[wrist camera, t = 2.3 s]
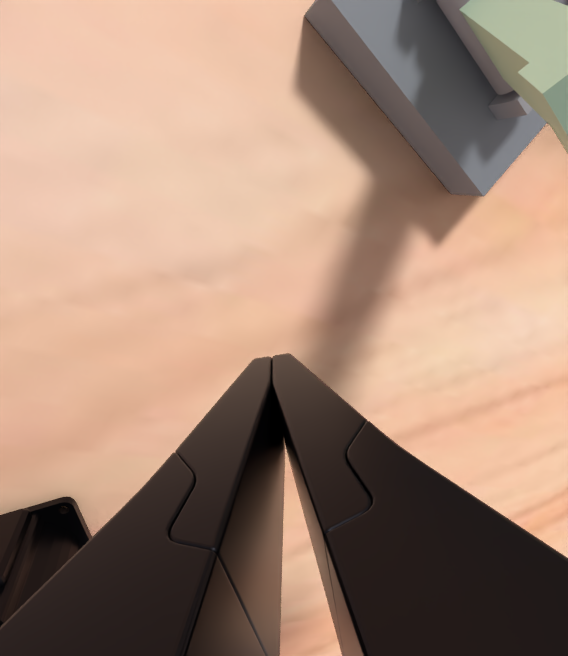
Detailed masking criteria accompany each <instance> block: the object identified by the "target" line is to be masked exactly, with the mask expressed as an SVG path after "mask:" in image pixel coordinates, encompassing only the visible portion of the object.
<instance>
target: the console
mask: <svg viewBox="0 0 568 656" xmlns="http://www.w3.org/2000/svg"><path fill="white" fill-rule="evenodd" d="M553 1H556V2H559V3H562V4H564V5H567V6H568V0H553ZM304 16H305V17H306V19H307V20H308V21H309V22H310V23H311V25H312V26H313V27H314V28H315V29H316V31H317V32H318V33H319V34H320V36H321V37H322V38H323V39H324V40H325V42H326V43H327V44H328V45H329V47H330V48H331V49H332V50H333V51H334V53H335V54H336V55H337V56H338V57H339V59H340V60H341V61H342V62H343V64H344V65H345V66H346V67H347V68H348V70H349V71H350V72H351V73H352V75H353V76H354V77H355V78H356V79H357V81H358V82H359V83H360V84H361V85H362V87H363V88H364V89H365V90H366V92H367V93H368V94H369V95H370V96H371V98H372V99H373V100H374V101H375V102H376V104H377V105H378V106H379V107H380V109H381V110H382V111H383V112H384V113H385V115H386V116H387V117H388V118H389V120H390V121H391V122H392V123H393V124H394V126H395V127H396V128H397V129H398V130H399V132H400V133H401V134H402V135H403V137H404V138H405V139H406V140H407V141H408V143H409V144H410V145H411V146H412V148H413V149H414V150H415V151H416V152H417V154H418V155H419V156H420V157H421V158H422V160H423V161H424V162H425V163H426V165H427V166H428V167H429V168H430V169H431V171H432V172H433V173H434V174H435V175H436V177H437V178H438V179H439V180H440V182H441V183H442V184H443V185H444V186H445V188H446V189H447V190H448V191H449V193H450V194H457V195H471V196H484V195H485V194H486V193H487V192H488V191H489V190H490V188H491V187H492V186H493V185H494V184H495V183H496V181H497V180H498V179H499V178H500V177H501V176H502V174H503V173H504V172H505V171H506V170H507V169H508V167H509V166H510V165H511V164H512V163H513V162H514V160H515V159H516V158H517V157H518V156H519V155H520V153H521V152H522V151H523V150H524V149H525V148H526V146H527V145H528V144H529V143H530V142H531V141H532V139H533V138H534V137H535V136H536V135H537V134H538V132H539V131H540V130H541V129H542V128H543V127H544V125H545V124H546V123H547V122H546V121H545V120H544V119H543V118H542V117H541V116H540V115H539V114H538V113H537V112H536V111H535V110H534V109H533V108H532V107H531V106H530V105H529V104H528V103H527V102H526V101H525V100H524V99H523V98H522V97H521V96H520V95H519V94H518V93H517V92H516V91H515V90H513V91H511V92H509V93H506V94H503V95H498V94H497V93H496V92H495V90H494V89H493V87H492V86H491V84H490V83H489V81H488V80H487V78H486V77H485V75H484V74H483V72H482V71H481V69H480V68H479V66H478V65H477V63H476V62H475V60H474V58H473V57H472V55H471V54H470V52H469V51H468V49H467V48H466V46H465V45H464V43H463V42H462V40H461V39H460V37H459V36H458V34H457V33H456V31H455V30H454V28H453V27H452V25H451V23H450V22H449V20H448V19H447V17H446V16H445V14H444V13H443V11H442V10H441V8H440V7H439V5H438V4H437V2H436V0H315V2H314V3H313V4H312V6H311V7H310V8H309V10H308V11H307V12H306V14H305V15H304Z"/></svg>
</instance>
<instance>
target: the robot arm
mask: <svg viewBox="0 0 568 656" xmlns="http://www.w3.org/2000/svg"><path fill="white" fill-rule="evenodd" d="M284 440H285V441H284ZM285 445H286V449H287V453H288V457H289V461H290V465H291V468H292V472H293V476H294V479H295V483H296V487H297V490H298V494H299V498H300V501H301V505H302V509H303V512H304V516H305V520H306V524H307V527H308V531H309V535H310V538H311V542H312V546H313V549H314V553H315V557H316V560H317V564H318V568H319V571H320V575H321V579H322V582H323V586H324V590H325V594H326V597H327V601H328V605H329V608H330V612H331V616H332V619H333V623H334V627H335V630H336V634H337V638H338V641H339V645H340V649H341V652H342V656H568V558H567V557H565V556H564V555H562V554H561V553H559V552H558V551H556V550H555V549H553V548H552V547H550V546H549V545H547V544H546V543H544V542H543V541H541V540H540V539H538V538H537V537H535V536H534V535H532V534H531V533H529V532H528V531H526V530H525V529H523V528H521V527H520V526H518V525H517V524H515V523H514V522H512V521H511V520H509V519H508V518H506V517H505V516H503V515H502V514H500V513H499V512H497V511H496V510H494V509H493V508H491V507H490V506H488V505H487V504H485V503H484V502H482V501H481V500H479V499H478V498H476V497H475V496H473V495H472V494H470V493H468V492H467V491H465V490H464V489H462V488H461V487H459V486H458V485H456V484H455V483H453V482H452V481H450V480H449V479H447V478H446V477H444V476H443V475H441V474H440V473H438V472H437V471H435V470H434V469H432V468H431V467H429V466H428V465H426V464H425V463H423V462H422V461H420V460H419V459H417V458H416V457H415V456H413V455H412V454H410V453H409V452H407V451H406V450H405V449H403V448H402V447H400V446H399V445H398V444H396V443H395V442H394V441H393V440H391V439H390V438H389V437H388V436H386V435H385V434H384V433H383V432H381V431H380V430H379V429H378V428H377V427H376V426H374V425H373V424H372V423H371V422H370V421H367V419H365V418H364V417H363V416H362V415H361V414H360V413H358V412H357V411H356V410H355V409H354V408H353V407H352V406H350V405H349V404H348V403H347V402H346V401H345V400H343V399H342V398H341V397H340V396H339V395H338V394H336V393H335V392H334V391H333V390H332V389H331V388H330V387H328V386H327V385H326V384H325V383H324V382H323V381H321V380H320V379H319V378H318V377H317V376H316V375H314V374H313V373H312V372H311V371H310V370H309V369H307V368H306V367H305V366H304V365H303V364H302V363H301V362H299V361H298V360H297V359H296V358H295V357H294V356H292V355H291V354H289V353H287V354H281V355H275V356H273V358H271V357H263V358H256V359H254V360H252V362H251V363H250V364H249V365H248V366H247V367H246V369H245V370H244V371H243V372H242V373H241V374H240V376H239V377H238V378H237V379H236V380H235V381H234V383H233V384H232V385H231V386H230V387H229V389H228V390H227V391H226V392H225V393H224V394H223V396H222V397H221V398H220V399H219V400H218V401H217V403H216V404H215V405H214V406H213V407H212V409H211V410H210V411H209V412H208V413H207V414H206V416H205V417H204V418H203V419H202V420H201V421H200V423H199V424H198V425H197V426H196V427H195V428H194V430H193V431H192V432H191V433H190V434H189V436H188V437H187V438H186V439H185V440H184V441H183V443H182V444H181V445H180V446H179V447H178V448H177V450H176V453H172V455H171V456H170V457H169V458H168V459H167V460H166V462H165V463H164V464H163V465H162V466H161V467H160V468H159V470H158V471H157V472H156V473H155V474H154V475H153V476H152V477H151V478H150V480H149V481H148V482H147V483H146V484H145V485H144V486H143V487H142V488H141V489H140V490H139V491H138V492H137V493H136V494H135V495H134V496H133V497H132V498H131V499H130V501H129V502H128V503H127V504H126V505H125V506H124V507H123V508H122V509H121V510H120V511H119V512H118V513H117V514H116V515H115V516H114V517H113V518H111V519H110V520H109V521H108V522H107V523H106V524H105V525H104V526H103V527H102V528H101V529H100V530H99V531H98V532H97V533H96V534H95V535H94V536H93V537H91V534H90V532H89V530H88V528H87V526H86V523H85V521H84V519H83V517H82V515H81V513H80V510H79V508H78V506H77V504H76V502H75V500H74V499H72V498H71V497H62V498H58V499H55V500H52V501H48V502H45V503H41V504H38V505H35V506H31V507H28V508H24V509H20V510H16V511H13V512H10V513H6V514H3V515H0V656H279V655H280V618H281V582H282V546H283V510H284V474H285ZM62 506H67V507H68V508H62Z"/></svg>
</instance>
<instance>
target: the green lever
mask: <svg viewBox="0 0 568 656" xmlns="http://www.w3.org/2000/svg"><path fill="white" fill-rule="evenodd" d="M436 2H437V4H438V5H439V7H440V8H441V10H442V11H443V13H444V14H445V16H446V17H447V19H448V20H449V22H450V23H451V25H452V27H453V28H454V30H455V31H456V33H457V34H458V36H459V37H460V39H461V40H462V42H463V43H464V45H465V46H466V48H467V49H468V51H469V52H470V54H471V55H472V57H473V58H474V60H475V62H476V63H477V65H478V66H479V68H480V69H481V71H482V72H483V74H484V75H485V77H486V78H487V80H488V81H489V83H490V84H491V86H492V87H493V89H494V90H495V92H496V93H497V94H498V95H503V94H506V93H509V92H511V91H513V90H515V91H516V92H517V93H518V94H519V95H520V96H521V97H522V98H523V99H524V100H525V101H526V102H527V103H528V104H529V105H530V106H531V107H532V108H533V109H534V110H535V111H536V112H537V113H538V114H539V115H540V116H541V117H542V118H543V119H544V120H545V121H546V122H547V123H548V124H549V125H550V126H551V127H552V129H553V130H554V132H555V134H556V135H557V137H558V139H559V140H560V142H561V144H562V145H563V147H564V148H565V150H566V152H567V153H568V6H567V5H564V4H562V3H559V2H556V1H553V0H436Z"/></svg>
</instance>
